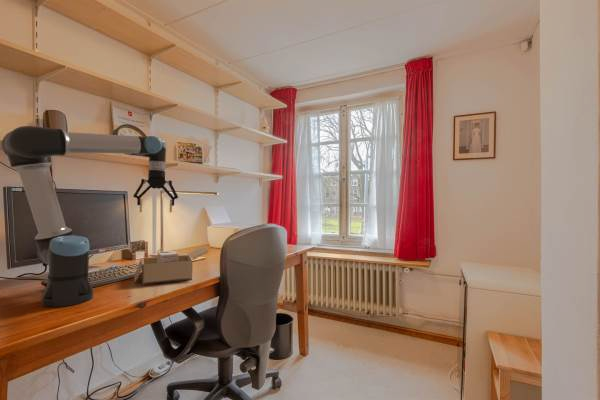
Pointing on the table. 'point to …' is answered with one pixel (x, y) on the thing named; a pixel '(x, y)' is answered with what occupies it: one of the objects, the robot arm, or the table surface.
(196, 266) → the table surface
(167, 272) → the carton
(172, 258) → the ink box
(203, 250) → the flap
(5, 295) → the table surface
